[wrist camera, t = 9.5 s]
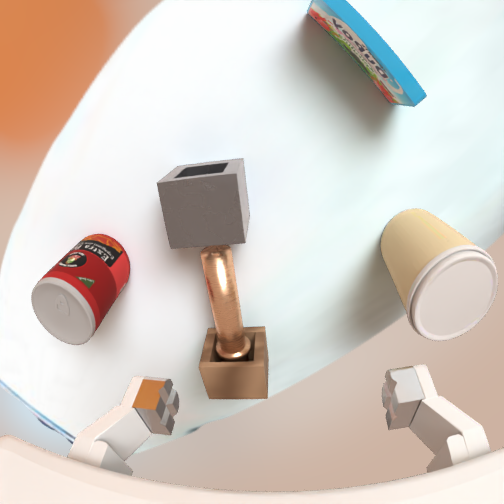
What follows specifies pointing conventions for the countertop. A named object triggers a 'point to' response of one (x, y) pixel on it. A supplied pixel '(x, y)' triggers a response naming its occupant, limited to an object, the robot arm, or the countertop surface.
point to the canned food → (81, 288)
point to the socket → (236, 368)
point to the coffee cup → (438, 274)
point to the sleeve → (205, 204)
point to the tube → (225, 303)
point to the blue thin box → (368, 50)
